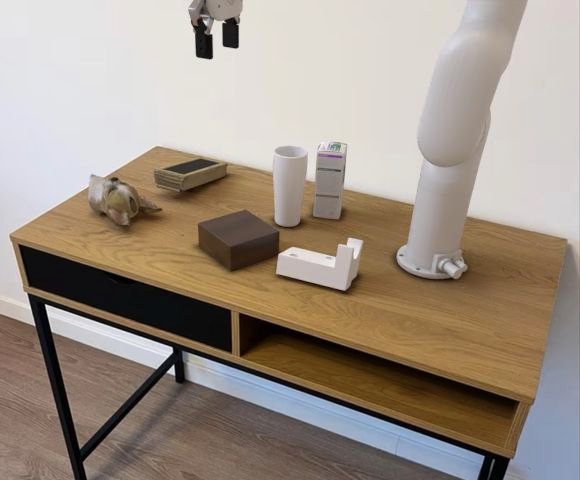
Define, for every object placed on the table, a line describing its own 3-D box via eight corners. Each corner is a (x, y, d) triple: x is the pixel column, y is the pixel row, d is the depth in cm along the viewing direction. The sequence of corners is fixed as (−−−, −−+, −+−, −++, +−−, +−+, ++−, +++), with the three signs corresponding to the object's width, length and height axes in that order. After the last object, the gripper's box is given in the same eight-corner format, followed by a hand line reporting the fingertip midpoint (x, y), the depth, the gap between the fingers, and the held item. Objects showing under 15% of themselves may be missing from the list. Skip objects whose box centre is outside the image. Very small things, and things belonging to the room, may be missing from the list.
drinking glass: (303, 230, 129) (308, 158, 120) (270, 228, 129) (272, 156, 120) (303, 215, 134) (308, 146, 125) (271, 214, 134) (273, 144, 125)
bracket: (355, 281, 116) (363, 240, 113) (345, 290, 110) (352, 248, 107) (289, 264, 120) (295, 225, 117) (275, 273, 113) (281, 231, 110)
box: (151, 191, 137) (152, 168, 134) (203, 173, 156) (204, 153, 153) (185, 200, 135) (186, 177, 132) (233, 181, 153) (235, 160, 151)
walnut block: (279, 254, 121) (280, 231, 118) (230, 271, 115) (230, 246, 112) (245, 232, 127) (245, 209, 124) (198, 246, 122) (197, 222, 119)
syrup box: (339, 220, 134) (346, 152, 125) (311, 217, 134) (316, 149, 125) (341, 208, 138) (348, 142, 129) (315, 205, 139) (320, 139, 130)
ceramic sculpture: (110, 158, 131) (164, 182, 125) (113, 197, 136) (165, 221, 131) (69, 174, 124) (124, 200, 118) (74, 214, 129) (127, 240, 124)
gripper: (209, -53, 97) (212, 66, 108) (259, -61, 110) (257, 46, 120) (167, -58, 99) (174, 59, 110) (221, -65, 112) (222, 41, 123)
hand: (218, 52), depth 115 cm, fingers open, 9 cm apart
